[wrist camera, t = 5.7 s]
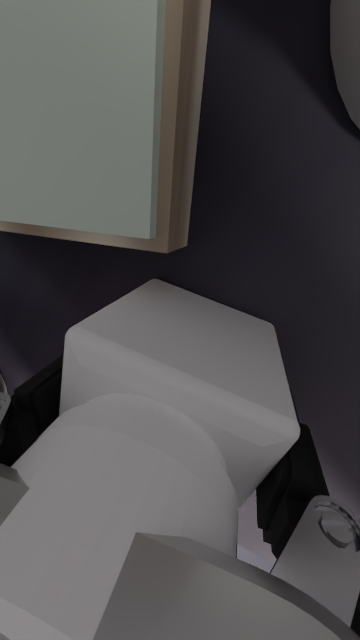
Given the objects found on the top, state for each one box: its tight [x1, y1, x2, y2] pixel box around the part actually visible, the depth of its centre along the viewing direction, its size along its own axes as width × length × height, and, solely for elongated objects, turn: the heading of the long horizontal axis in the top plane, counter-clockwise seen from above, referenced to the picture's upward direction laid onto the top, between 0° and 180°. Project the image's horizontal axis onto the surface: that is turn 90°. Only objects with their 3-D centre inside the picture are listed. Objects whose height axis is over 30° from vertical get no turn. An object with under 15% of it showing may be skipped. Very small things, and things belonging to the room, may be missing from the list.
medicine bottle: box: [0, 279, 300, 640], centre depth 9 cm, size 7×7×12 cm
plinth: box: [0, 0, 211, 253], centre depth 9 cm, size 12×12×4 cm
